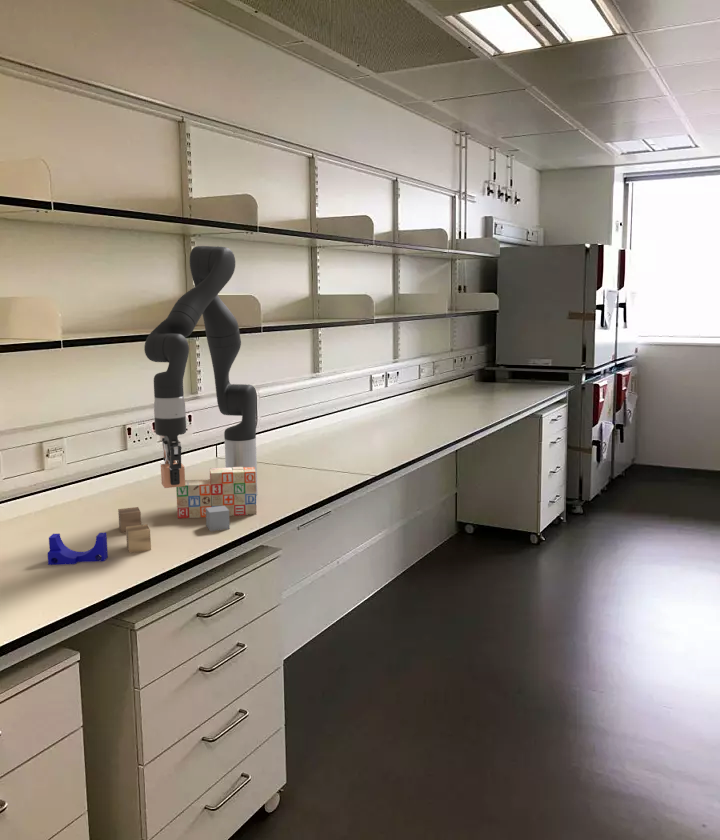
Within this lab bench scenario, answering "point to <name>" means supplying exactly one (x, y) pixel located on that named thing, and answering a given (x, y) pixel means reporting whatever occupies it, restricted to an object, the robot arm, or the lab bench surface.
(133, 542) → the oak block
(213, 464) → the lab bench surface
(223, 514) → the gray block
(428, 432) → the lab bench surface
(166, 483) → the terracotta block
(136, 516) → the tan block
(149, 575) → the lab bench surface
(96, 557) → the blue cradle bracket
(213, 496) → the stack of blocks
